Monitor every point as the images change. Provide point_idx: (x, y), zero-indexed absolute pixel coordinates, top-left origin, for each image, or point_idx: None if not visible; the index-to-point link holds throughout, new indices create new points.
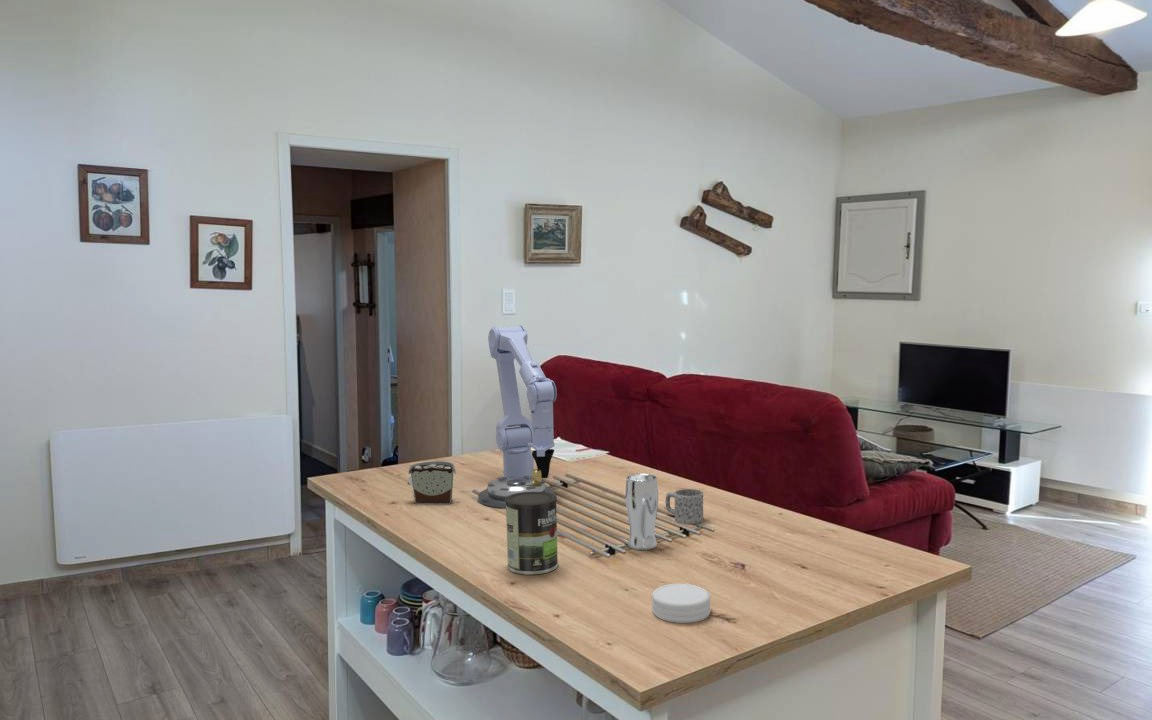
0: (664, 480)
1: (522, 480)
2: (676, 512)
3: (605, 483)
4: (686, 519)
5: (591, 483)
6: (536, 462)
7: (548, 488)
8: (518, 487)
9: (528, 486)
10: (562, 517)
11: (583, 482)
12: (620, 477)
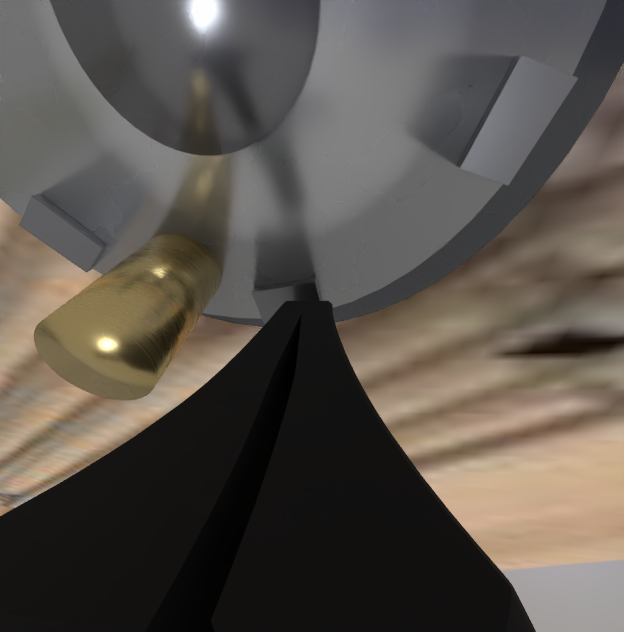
0: (491, 556)
1: (263, 96)
2: None
3: (517, 469)
4: None
5: (541, 436)
6: (158, 427)
7: (397, 289)
8: (38, 88)
9: (122, 199)
10: (8, 351)
11: (579, 414)
12: (594, 504)
